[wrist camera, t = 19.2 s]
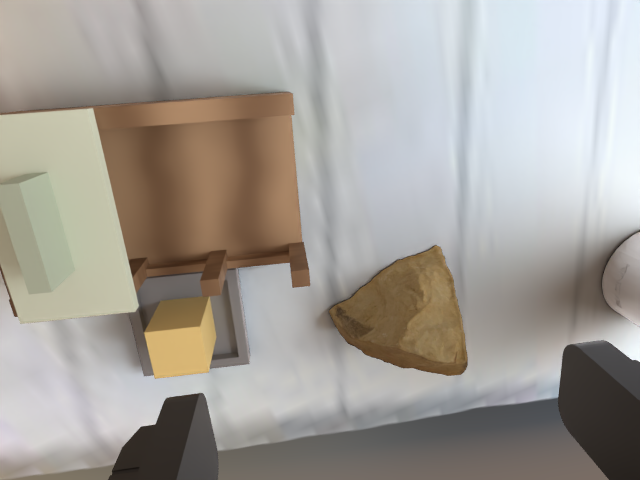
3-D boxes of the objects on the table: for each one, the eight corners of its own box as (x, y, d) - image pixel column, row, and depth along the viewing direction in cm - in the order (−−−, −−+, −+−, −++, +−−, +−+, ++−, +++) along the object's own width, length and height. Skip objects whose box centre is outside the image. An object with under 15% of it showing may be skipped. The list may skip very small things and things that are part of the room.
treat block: (209, 295, 37) (200, 326, 32) (216, 337, 38) (208, 372, 33) (160, 300, 36) (144, 332, 32) (169, 342, 38) (154, 378, 33)
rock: (325, 370, 38) (440, 377, 38) (326, 366, 30) (472, 376, 30) (332, 251, 42) (437, 258, 42) (335, 219, 34) (465, 227, 33)
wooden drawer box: (289, 91, 33) (294, 93, 26) (303, 247, 37) (310, 285, 30) (20, 111, 31) (-54, 118, 24) (66, 270, 35) (14, 316, 28)
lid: (92, 108, 24) (62, 112, 21) (138, 305, 29) (119, 337, 25) (-40, 117, 24) (-94, 123, 20) (27, 317, 28) (-9, 351, 25)
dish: (237, 262, 37) (235, 269, 35) (250, 354, 40) (249, 364, 38) (126, 274, 36) (121, 281, 35) (148, 366, 39) (144, 376, 38)
